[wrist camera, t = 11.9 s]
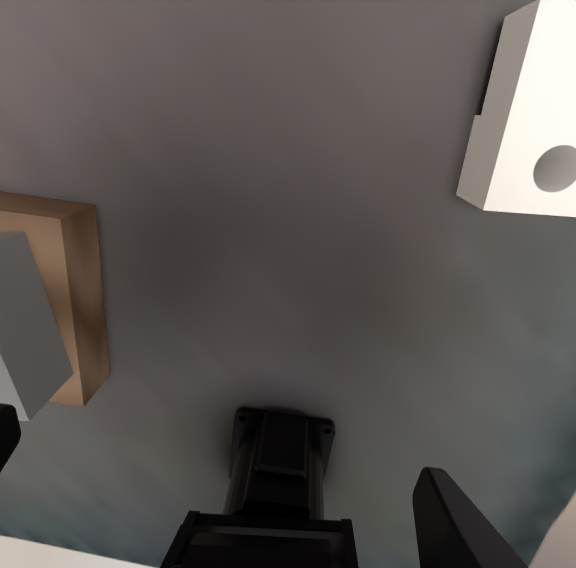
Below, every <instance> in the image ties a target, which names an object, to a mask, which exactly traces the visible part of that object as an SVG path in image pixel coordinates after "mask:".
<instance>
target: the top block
mask: <svg viewBox="0 0 576 568" xmlns="http://www.w3.org/2000/svg"><path fill="white" fill-rule="evenodd" d="M73 374H74V373H73V370H72V368H71V365H70V362H69V359H68V356H67V353H66V350H65V347H64V344H63V341H62V338H61V335H60V332H59V330H58V327H57V324H56V321H55V318H54V315H53V312H52V309H51V306H50V303H49V300H48V297H47V294H46V292H45V289H44V286H43V283H42V280H41V277H40V274H39V271H38V268H37V265H36V262H35V259H34V256H33V253H32V251H31V248H30V245H29V242H28V239H27V236H26V233H25V231H20V232H0V403H3V404H10V405H13V406H14V407H15V408H16V411H17V415H18V420H19V421H29V420H30V419H31V418H32V417H33V416H34V415H35V414H36V413H37V412H38V411H39V410H40V409H41V408H42V407H43V406H44V405H45V404H46V403H47V401H48V400H49V399H50V398H51V397H52V396H53V395H54V394H55V393H56V392H57V391H58V390H59V389H60V388H61V387H62V386H63V385H64V384H65V382H66V381H67V380H68V379H69V378H70V377H71V376H72V375H73Z"/></svg>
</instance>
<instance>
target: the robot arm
mask: <svg viewBox="0 0 576 568" xmlns="http://www.w3.org/2000/svg"><path fill="white" fill-rule="evenodd" d="M241 415H243V416H245V417H242V416H241ZM325 428H330V429H325ZM334 435H335V425H334V423H333V422H331V421H328V420H322V419H315V418H308V417H301V416H295V415H288V414H281V413H274V412H268V411H261V410H254V409H247V408H240V409H238V410H237V411H236V414H235V419H234V430H233V441H232V451H231V462H230V473H229V479H230V484H229V489H228V493H227V497H226V502H225V506H224V510H223V514H208V513H200V511H189V512H188V514H187V516H186V518H185V520H184V522H183V524H182V525H181V526H180V528H179V530H178V532H177V534H176V536H175V538H174V540H173V542H172V544H171V546H170V548H169V550H168V552H167V554H166V557H165V559H164V561H163V563H162V565H161V567H160V568H359V567H358V561H357V554H356V547H355V541H354V534H353V527H352V521H351V519H341V521H337V520H324V506H323V480H324V476H325V472H326V467H327V463H328V459H329V455H330V451H331V447H332V443H333V439H334ZM20 437H21V429H20V424H19V420H18V415H17V411H16V408H15V407H14V406H13V405H10V404H3V403H0V472H1V471H2V469H3V467H4V466H5V464H6V462H7V461H8V459H9V458H10V456H11V454H12V453H13V451H14V450H15V448H16V446H17V445H18V443H19V440H20ZM413 510H414V519H415V527H416V535H417V544H418V552H419V560H420V568H528V566H527V565H526V564H525V563H524V562H523V561H522V559H521V558H520V557H519V556H518V555H517V554H516V552H515V551H514V550H513V549H512V548H511V547H510V545H509V544H508V543H507V542H506V541H505V540H504V538H503V537H502V536H501V535H500V534H499V533H498V532H497V530H496V529H495V528H494V527H493V526H492V525H491V523H490V522H489V521H488V520H487V519H486V518H485V516H484V515H483V514H482V513H481V512H480V511H479V509H478V508H477V507H476V506H475V505H474V504H473V503H472V501H471V500H470V499H469V498H468V497H467V496H466V494H465V493H464V492H463V491H462V490H461V489H460V487H459V486H458V485H457V484H456V483H455V482H454V480H453V479H452V478H451V477H450V476H449V475H448V474H447V472H446V471H444V470H443V469H440V468H433V467H424V468H423V469H422V471H421V473H420V476H419V478H418V481H417V483H416V486H415V488H414V491H413Z"/></svg>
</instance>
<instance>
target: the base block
mask: <svg viewBox="0 0 576 568" xmlns="http://www.w3.org/2000/svg"><path fill="white" fill-rule="evenodd" d="M20 231H25V233H26V236H27V239H28V242H29V245H30V248H31V251H32V253H33V256H34V259H35V262H36V265H37V268H38V271H39V274H40V277H41V280H42V283H43V286H44V289H45V292H46V294H47V297H48V300H49V303H50V306H51V309H52V312H53V315H54V318H55V321H56V324H57V327H58V330H59V332H60V335H61V338H62V341H63V344H64V347H65V350H66V353H67V356H68V359H69V362H70V365H71V368H72V370H73V373H74V374H73V375H72V376H71V377H70V378H69V379H68V380H67V381H66V382H65V384H64V385H63V386H62V387H61V388H60V389H59V390H58V391H57V392H56V393H55V394H54V395H53V396H52V397H51V398H50V399H49V400H48V401H47V402H54V403H61V404H68V405H74V406H81V407H84V406H85V405H86V404H87V402H88V401H89V400H90V399H91V397H92V396H93V395H94V393H95V392H96V391H97V390H98V388H99V387H100V386H101V385H102V383H103V382H104V381H105V380H106V378H107V377H108V376H109V375H110V371H109V359H108V348H107V336H106V324H105V313H104V301H103V289H102V278H101V266H100V254H99V243H98V231H97V220H96V208H95V205H91V204H84V203H77V202H70V201H63V200H56V199H49V198H42V197H35V196H28V195H20V194H13V193H6V192H0V232H20Z"/></svg>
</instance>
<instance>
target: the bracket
mask: <svg viewBox="0 0 576 568" xmlns="http://www.w3.org/2000/svg"><path fill="white" fill-rule="evenodd" d="M456 195H457V196H459V197H460V198H462V199H464V200H466V201H468V202H469V203H471V204H473V205H475V206H476V207H478V208H480V209H482V210H486V211H500V212H514V213H528V214H542V215H556V216H570V217H576V0H536V1H534V2H532V3H530V4H528V5H526V6H524V7H522V8H520V9H519V10H517V11H515V12H513V13H511V14H509V15H507V16H505V18H504V23H503V27H502V31H501V35H500V39H499V43H498V47H497V51H496V55H495V59H494V63H493V68H492V72H491V76H490V80H489V84H488V88H487V92H486V96H485V100H484V104H483V108H482V113H481V115H475V117H474V121H473V125H472V129H471V134H470V138H469V142H468V146H467V150H466V155H465V159H464V163H463V167H462V171H461V176H460V180H459V184H458V188H457V192H456Z"/></svg>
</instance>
